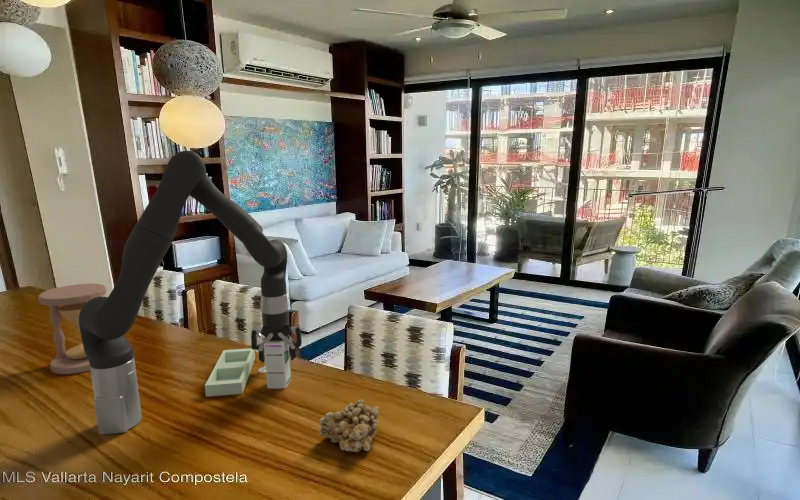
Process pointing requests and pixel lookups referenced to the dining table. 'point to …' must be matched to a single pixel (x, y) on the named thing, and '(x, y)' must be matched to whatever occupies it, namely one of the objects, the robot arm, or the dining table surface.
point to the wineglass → (259, 340)
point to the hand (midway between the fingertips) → (278, 360)
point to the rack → (230, 372)
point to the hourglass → (72, 304)
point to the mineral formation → (351, 426)
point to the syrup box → (277, 364)
